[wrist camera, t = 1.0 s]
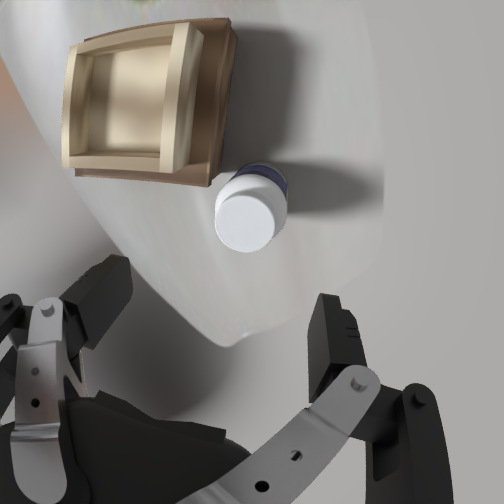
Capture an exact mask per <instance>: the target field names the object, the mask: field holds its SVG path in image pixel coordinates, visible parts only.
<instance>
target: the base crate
mask: <svg viewBox="0 0 504 504" xmlns="http://www.w3.org/2000/svg"><path fill="white" fill-rule="evenodd" d="M186 22H190V23H191V24H192V25H193V26H194V27H195V28H197V29H198V30H199V31H200V32H201V33H202V34H203V35H204V41H203V47H202V53H201V60H200V67H199V74H198V82H197V89H196V98H195V107H194V116H193V127H192V138H191V150H190V164H189V165H188V166H186V167H184V168H182V169H180V170H178V171H176V172H174V173H163V172H150V171H136V170H118V169H93V168H75V176H80V177H100V178H116V179H130V180H142V181H154V182H164V183H174V184H183V185H192V186H201V187H209V186H210V185H211V182H212V179H214V178H215V177H216V176H217V175H219V174H220V173H221V162H222V152H223V143H224V134H225V125H226V116H227V108H228V100H229V92H230V84H231V77H232V70H233V63H234V56H235V49H236V43H237V36H236V34H235V33H234V31H233V30H232V28H231V27H230V26H231V21H230V19H229V18H201V19H186V20H176V21H167V22H160V23H153V24H147V25H141V26H136V27H131V28H126V29H121V30H117V31H113V32H109V33H105V34H101V35H98V36H94V37H91V38H88V39H85V40H84V42H86V41H89V40H93V39H96V38H100V37H104V36H107V35H111V34H116V33H120V32H124V31H129V30H134V29H140V28H145V27H152V26H158V25H166V24H175V23H186Z"/></svg>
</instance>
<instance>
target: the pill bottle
mask: <svg viewBox="0 0 504 504" xmlns="http://www.w3.org/2000/svg"><path fill="white" fill-rule="evenodd" d="M287 196H288V187H287V182H286V179H285V177H284V175H283V174H282V173H281V171H280V170H278V169H277V168H276V167H275V166H273V165H271V164H268V163H264V162H255V163H250V164H248V165H246V166H244V167H243V168H241V169H240V170H239V171H238V172H237V173H236V174H235V175H234V176H233V177H232V178H231V179H230V180H229V181H228V182H227V183H226V184H225V185H224V187H223V188H222V189H221V191H220V192H219V194H218V196H217V199H216V204H215V213H216V216H215V229H216V232H217V234H218V236H219V238H220V239H221V241H222V242H223V243H224V244H225V245H227V246H228V247H229V248H231V249H233V250H236V251H239V252H247V253H248V252H255V251H258V250H260V249H262V248H264V247H265V246H266V245H267V244H268V243H269V242H270V241H271V240H272V238H274V237H275V236H276V235H277V234H278V233H279V232H280V231H281V230H282V228H283V226H284V224H285V221H286V218H287Z"/></svg>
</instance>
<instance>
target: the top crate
mask: <svg viewBox="0 0 504 504" xmlns="http://www.w3.org/2000/svg"><path fill="white" fill-rule="evenodd" d="M203 41H204V35H203V34H202V33H201V32H200V31H199V30H198V29H197V28H195V27H194V26H193V25H192V24H191V23H190V22H186V23H175V24H166V25H158V26H152V27H145V28H140V29H134V30H129V31H124V32H120V33H116V34H111V35H107V36H104V37H100V38H96V39H93V40H89V41H86V42H83V43H80V44H77V45H74V46H71V47H70V50H69V56H68V62H67V68H66V76H65V85H64V95H63V108H62V168H93V169H118V170H136V171H150V172H163V173H174V172H176V171H178V170H180V169H182V168H184V167H186V166H188V165H189V164H190V150H191V138H192V127H193V116H194V107H195V98H196V89H197V82H198V74H199V67H200V60H201V53H202V47H203Z"/></svg>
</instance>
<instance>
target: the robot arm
mask: <svg viewBox="0 0 504 504" xmlns="http://www.w3.org/2000/svg"><path fill="white" fill-rule="evenodd" d="M132 293H133V284H132V277H131V269H130V261H129V259H128V258H127V257H124V256H119V255H114V254H111V255H110V256H109V257H108V258H106V259H105V260H104V261H103V262H102V263H99V264H97V265H95V266H93V267H91V268H90V269H89V270H88V271H87V272H85V273H84V276H81V277H80V278H79V279H78V281H76V282H75V283H74V284H73V285H72V286H71V287H69V289H67V290H66V291H65V292H64V294H62V295H61V296H60V297H59V298H54V297H49V298H45V299H42V300H40V301H39V302H38V303H36V304H35V306H24V305H23V303H22V301H21V298H20V297H19V295H17V294H8V295H5V296H3V297H2V298H1V299H0V343H1V342H2V341H3V339H4V338H5V337H6V336H7V335H8V337H9V339H10V340H11V342H12V344H13V345H12V347H11V348H10V349H9V351H8V352H7V353H6V355H5V356H4V357H3V359H2V360H1V362H0V420H1V418H2V416H3V414H4V413H5V411H6V409H7V407H8V406H9V404H10V402H11V401H12V399H13V397H14V396H15V421H14V422H11V423H8V424H5V425H1V424H0V504H291V503H292V502H293V501H294V500H295V499H296V498H297V497H298V496H299V495H300V494H301V493H302V492H303V491H304V490H305V489H306V488H307V487H308V486H309V485H310V484H311V483H312V481H314V479H315V478H316V477H317V476H318V475H319V474H320V473H321V472H322V471H323V470H324V468H325V467H326V466H327V465H328V464H329V463H330V461H331V460H332V459H333V458H334V457H335V456H336V454H337V453H338V452H339V451H340V449H341V448H342V447H343V445H344V444H345V443H346V441H347V440H348V438H349V437H353V438H356V439H359V440H363V441H365V442H366V501H365V504H454V500H453V489H452V480H451V471H450V464H449V458H448V452H447V446H446V441H445V436H444V431H443V427H442V422H441V418H440V414H439V410H438V406H437V402H436V398H435V396H434V394H433V392H432V391H431V390H430V389H429V388H427V387H426V386H424V385H422V384H418V383H413V384H410V385H408V386H406V388H405V389H404V390H403V391H400V390H397V389H393V388H390V387H387V386H384V385H382V384H380V380H379V378H378V376H377V375H376V374H375V373H374V372H373V371H372V370H371V369H369V368H368V367H367V363H366V359H365V354H364V350H363V346H362V341H361V339H360V333H359V331H358V325H357V321H356V319H355V317H354V316H353V315H352V313H351V312H350V311H349V310H344V309H342V308H341V303H340V299H339V296H336V295H329V294H323V293H320V294H319V296H318V299H317V302H316V305H315V308H314V311H313V314H312V317H311V320H310V324H309V328H308V336H307V338H308V369H309V370H308V373H309V403H313V404H312V405H311V406H310V407H309V408H304V409H303V410H302V411H300V412H299V413H298V414H297V415H296V416H295V417H294V418H293V419H292V420H291V421H290V422H289V423H288V424H287V425H286V426H284V427H283V428H282V429H281V430H280V431H279V432H278V433H277V434H275V435H274V436H273V437H272V438H271V439H270V440H269V441H267V442H266V443H265V444H264V445H263V446H262V447H260V448H259V449H258V450H257V451H255V452H254V453H253V454H251V453H249V451H247V450H246V449H245V448H243V447H242V446H240V445H238V444H237V443H235V442H233V441H232V440H229V439H227V438H225V436H226V430H225V429H220V428H215V427H211V426H206V425H202V424H198V423H194V422H182V421H165V420H156V419H153V418H151V417H150V416H148V415H147V414H145V413H143V412H141V411H140V410H139V409H137V408H136V407H134V406H133V405H131V404H130V403H128V402H127V401H125V400H122V399H119V398H117V397H115V396H112V395H110V394H107V393H105V392H103V391H100V390H99V392H98V393H97V395H96V397H88V394H87V390H86V385H85V377H84V369H83V360H82V353H81V351H80V350H81V348H82V347H83V346H84V347H87V348H89V349H92V350H93V349H94V348H95V347H96V345H97V344H98V342H99V341H100V340H101V338H102V337H103V335H104V334H105V333H106V331H107V330H108V329H109V327H110V326H111V325H112V323H113V322H114V321H115V319H116V318H117V316H118V315H119V314H120V313H121V311H122V310H123V309H124V307H125V306H126V305H127V303H128V302H129V301H130V299H131V296H132Z"/></svg>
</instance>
